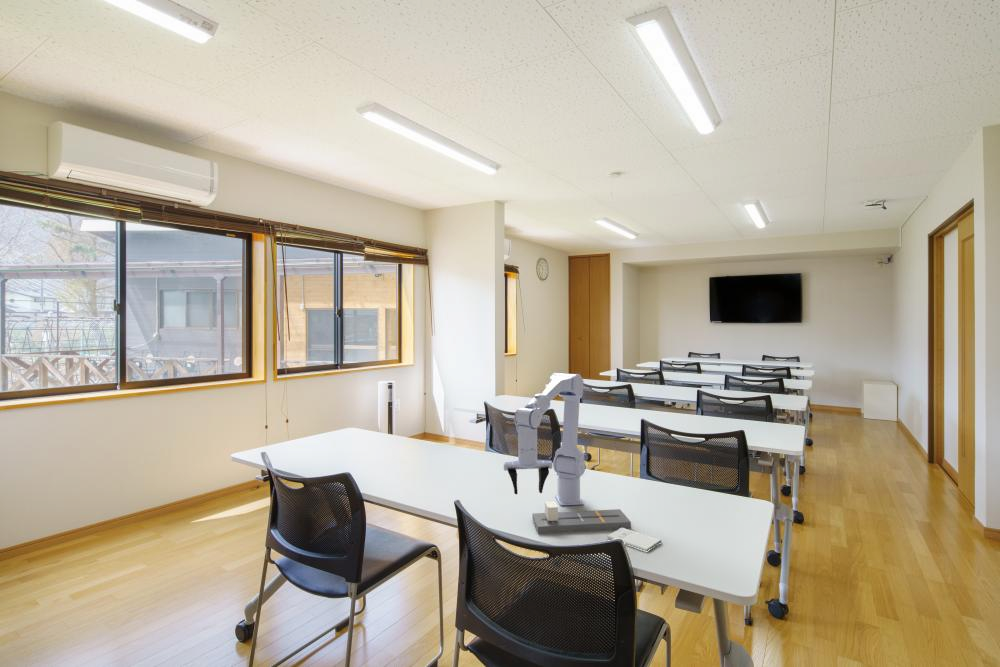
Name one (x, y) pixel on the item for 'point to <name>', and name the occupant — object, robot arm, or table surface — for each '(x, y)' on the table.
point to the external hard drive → (635, 539)
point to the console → (582, 521)
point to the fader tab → (551, 511)
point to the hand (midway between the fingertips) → (528, 492)
